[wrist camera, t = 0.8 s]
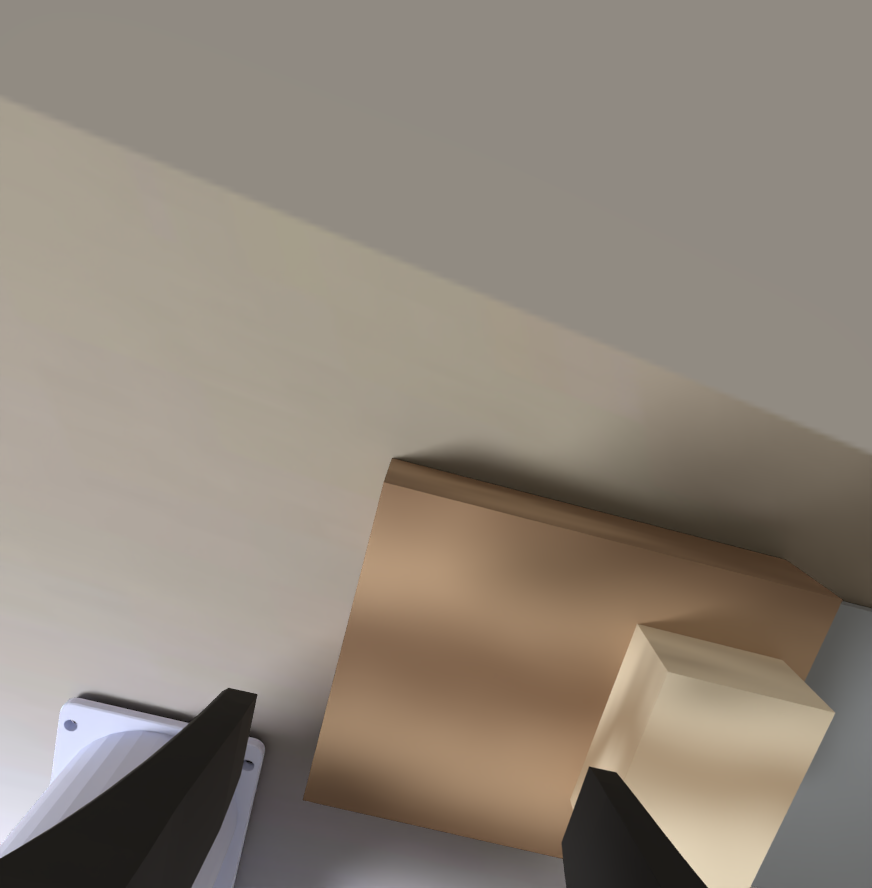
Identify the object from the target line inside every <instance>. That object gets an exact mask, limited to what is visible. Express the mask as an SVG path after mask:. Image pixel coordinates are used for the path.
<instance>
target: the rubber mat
mask: <svg viewBox="0 0 872 888" xmlns="http://www.w3.org/2000/svg"><path fill="white" fill-rule="evenodd" d="M805 683H806V684H807V685H808V686H809V687H810V688H811V689H812V690H813V691H814V692H815V693H816V694H817V695H818V696H819V697H820V698H821V699H822V700H823V701H824V702H825V703H826V704H827V705H828V706H829V707H830V708H831V709H832V710H833V711H834V712H835V715H834V717H833V719H832V721H831V723H830V725H829V727H828V729H827V731H826V733H825V735H824V737H823V739H822V741H821V743H820V745H819V747H818V750H817V752H816V754H815V756H814V758H813V760H812V762H811V764H810V766H809V768H808V770H807V772H806V774H805V776H804V778H803V780H802V782H801V784H800V786H799V788H798V790H797V792H796V795H795V797H794V799H793V801H792V803H791V805H790V807H789V809H788V811H787V813H786V815H785V817H784V819H783V821H782V823H781V825H780V827H779V829H778V831H777V833H776V835H775V837H774V840H773V842H772V844H771V846H770V848H769V850H768V852H767V854H766V856H765V858H764V860H763V862H762V864H761V866H760V868H759V870H758V872H757V874H756V876H755V878H754V880H753V882H752V885H751V886H752V887H757V888H872V608H868V607H864V606H860V605H856V604H852V603H848V602H845V601H842V602H841V605H840V607H839V609H838V611H837V613H836V615H835V617H834V620H833V622H832V624H831V626H830V628H829V630H828V632H827V635H826V637H825V639H824V641H823V643H822V645H821V647H820V649H819V652H818V654H817V656H816V658H815V660H814V662H813V664H812V667H811V669H810V671H809V673H808V675H807V677H806V679H805Z"/></svg>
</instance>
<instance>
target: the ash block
mask: <svg viewBox="0 0 872 888" xmlns="http://www.w3.org/2000/svg"><path fill="white" fill-rule="evenodd" d="M834 715H835V712H834V711H833V710H832V709H831V708H830V707H829V706H828V705H827V704H826V703H825V702H824V701H823V700H822V699H821V698H820V697H819V696H818V695H817V694H816V693H815V692H814V691H813V690H812V689H811V688H810V687H809V686H808V685H807V684H806V683H805V682H804V681H803V680H802V679H801V678H800V677H799V676H798V675H797V674H796V673H795V672H794V671H793V670H792V669H791V668H790V667H789V666H788V665H787V664H786V663H785V662H784V661H783V660H780V659H776V658H772V657H768V656H764V655H760V654H756V653H752V652H748V651H744V650H740V649H736V648H732V647H728V646H724V645H720V644H716V643H712V642H708V641H704V640H700V639H696V638H692V637H688V636H684V635H680V634H676V633H672V632H668V631H664V630H660V629H656V628H652V627H648V626H644V625H640V624H637V626H636V628H635V631H634V633H633V636H632V639H631V641H630V644H629V647H628V649H627V652H626V654H625V657H624V660H623V662H622V665H621V667H620V670H619V673H618V675H617V678H616V681H615V683H614V686H613V688H612V691H611V694H610V696H609V699H608V701H607V704H606V707H605V709H604V712H603V714H602V717H601V720H600V722H599V725H598V728H597V730H596V733H595V735H594V738H593V741H592V743H591V746H590V748H589V751H588V754H587V756H586V759H585V762H584V764H583V767H582V769H581V772H580V775H579V777H578V780H577V782H576V785H575V788H574V790H573V793H572V796H571V798H570V801H571V805H572V808H573V809H574V807H575V804H576V801H577V798H578V795H579V793H580V790H581V787H582V784H583V782H584V779H585V776H586V773H587V771H588V768H589V766H590V767H594V768H599V769H603V770H608V771H613V772H616V773H617V774H618V775H619V776H620V777H621V778H622V780H623V781H624V782H625V783H626V785H627V786H628V787H629V788H630V790H631V791H632V792H633V793H634V795H635V796H636V797H637V799H638V800H639V801H640V802H641V804H642V805H643V806H644V808H645V809H646V810H647V812H648V813H649V814H650V815H651V817H652V818H653V819H654V821H655V822H656V823H657V824H658V826H659V827H660V828H661V830H662V831H663V832H664V834H665V835H666V836H667V837H668V839H669V840H670V841H671V842H672V844H673V845H674V846H675V848H676V849H677V850H678V851H679V853H680V854H681V855H682V856H683V858H684V859H685V860H686V861H687V863H688V864H689V865H690V866H691V868H692V869H693V870H694V871H695V872H696V874H697V875H698V876H699V877H700V878H701V880H702V881H703V882H704V883H705V884H706V886H707V887H708V888H750V887H751V885H752V882H753V880H754V878H755V876H756V874H757V872H758V870H759V868H760V866H761V864H762V862H763V860H764V858H765V856H766V854H767V852H768V850H769V848H770V846H771V844H772V842H773V840H774V837H775V835H776V833H777V831H778V829H779V827H780V825H781V823H782V821H783V819H784V817H785V815H786V813H787V811H788V809H789V807H790V805H791V803H792V801H793V799H794V797H795V795H796V792H797V790H798V788H799V786H800V784H801V782H802V780H803V778H804V776H805V774H806V772H807V770H808V768H809V766H810V764H811V762H812V760H813V758H814V756H815V754H816V752H817V750H818V747H819V745H820V743H821V741H822V739H823V737H824V735H825V733H826V731H827V729H828V727H829V725H830V723H831V721H832V719H833V717H834Z"/></svg>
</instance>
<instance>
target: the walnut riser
mask: <svg viewBox="0 0 872 888" xmlns="http://www.w3.org/2000/svg"><path fill="white" fill-rule="evenodd" d="M842 600H843V599H841V598H840V597H838V596H837V595H835V594H834V593H833V592H831V591H830V590H828V589H827V588H825V587H824V586H823V585H821V584H820V583H818V582H817V581H815V580H814V579H813V578H811V577H810V576H808V575H807V574H805V573H804V572H803V571H801V570H800V569H798V568H797V567H795V566H794V565H793V564H791V563H790V562H788V561H787V560H785V559H781V558H777V557H773V556H769V555H765V554H762V553H758V552H754V551H750V550H746V549H742V548H738V547H734V546H731V545H727V544H723V543H719V542H715V541H711V540H707V539H704V538H700V537H696V536H692V535H688V534H684V533H680V532H676V531H673V530H669V529H665V528H661V527H657V526H653V525H649V524H645V523H642V522H638V521H634V520H630V519H626V518H622V517H618V516H615V515H611V514H607V513H603V512H599V511H595V510H591V509H587V508H584V507H580V506H576V505H572V504H568V503H564V502H560V501H557V500H553V499H549V498H545V497H541V496H537V495H533V494H529V493H526V492H522V491H518V490H514V489H510V488H506V487H502V486H498V485H495V484H491V483H487V482H483V481H479V480H475V479H471V478H468V477H464V476H460V475H456V474H452V473H448V472H444V471H440V470H437V469H433V468H429V467H425V466H421V465H417V464H413V463H409V462H406V461H402V460H398V459H394V458H392V460H391V463H390V466H389V469H388V471H387V474H386V477H385V480H384V484H383V487H382V491H381V495H380V499H379V503H378V507H377V511H376V515H375V519H374V523H373V527H372V531H371V534H370V538H369V542H368V546H367V550H366V554H365V558H364V562H363V566H362V570H361V574H360V578H359V581H358V585H357V589H356V593H355V597H354V601H353V605H352V609H351V613H350V617H349V621H348V625H347V628H346V632H345V636H344V640H343V644H342V648H341V652H340V656H339V660H338V664H337V668H336V672H335V675H334V679H333V683H332V687H331V691H330V695H329V699H328V703H327V707H326V711H325V715H324V719H323V722H322V726H321V730H320V734H319V738H318V742H317V746H316V750H315V754H314V758H313V762H312V766H311V769H310V773H309V777H308V781H307V785H306V789H305V793H304V797H303V800H304V801H309V802H313V803H317V804H322V805H326V806H331V807H335V808H340V809H344V810H349V811H353V812H357V813H362V814H366V815H371V816H375V817H380V818H384V819H389V820H393V821H397V822H402V823H406V824H411V825H415V826H420V827H424V828H429V829H433V830H437V831H442V832H446V833H451V834H455V835H460V836H464V837H469V838H473V839H477V840H482V841H486V842H491V843H495V844H500V845H504V846H509V847H513V848H517V849H522V850H526V851H531V852H535V853H540V854H544V855H549V856H553V857H557V858H562V859H563V854H562V845H561V842H562V840H563V837H564V834H565V831H566V829H567V826H568V823H569V820H570V818H571V815H572V812H573V808H572V805H571V801H570V798H571V796H572V793H573V790H574V788H575V785H576V782H577V780H578V777H579V775H580V772H581V769H582V767H583V764H584V762H585V759H586V756H587V754H588V751H589V748H590V746H591V743H592V741H593V738H594V735H595V733H596V730H597V728H598V725H599V722H600V720H601V717H602V714H603V712H604V709H605V707H606V704H607V701H608V699H609V696H610V694H611V691H612V688H613V686H614V683H615V681H616V678H617V675H618V673H619V670H620V667H621V665H622V662H623V660H624V657H625V654H626V652H627V649H628V647H629V644H630V641H631V639H632V636H633V633H634V631H635V628H636V626H637V624H640V625H644V626H648V627H652V628H656V629H660V630H664V631H668V632H672V633H676V634H680V635H684V636H688V637H692V638H696V639H700V640H704V641H708V642H712V643H716V644H720V645H724V646H728V647H732V648H736V649H740V650H744V651H748V652H752V653H756V654H760V655H764V656H768V657H772V658H776V659H780V660H783V661H784V662H785V663H786V664H787V665H788V666H789V667H790V668H791V669H792V670H793V671H794V672H795V673H796V674H797V675H798V676H799V677H800V678H801V679H802V680H803V681H804V682H805V679H806V677H807V675H808V673H809V671H810V669H811V667H812V664H813V662H814V660H815V658H816V656H817V654H818V652H819V649H820V647H821V645H822V643H823V641H824V639H825V637H826V635H827V632H828V630H829V628H830V626H831V624H832V622H833V620H834V617H835V615H836V613H837V611H838V609H839V607H840V605H841V602H842Z"/></svg>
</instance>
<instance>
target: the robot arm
mask: <svg viewBox="0 0 872 888" xmlns="http://www.w3.org/2000/svg"><path fill="white" fill-rule="evenodd" d="M256 699H257V694H254V693H250V692H245V691H240V690H236V689H231V688H228V689H226V690H224V691H222V692H221V693H220V694H219V695H218V696H217V697H216V698H215V699H214V700H213V701H212V702H211V703H210V704H209V705H208V706H207V707H206V708H205V709H204V710H203V711H202V712H201V713H200V714H199V715H198V716H196V717H195V718H194V719H193V720H192V721H191V722H190V723H186V722H182V721H178V720H173V719H169V718H165V717H160V716H156V715H152V714H147V713H143V712H139V711H134V710H130V709H126V708H121V707H117V706H112V705H108V704H104V703H99V702H95V701H91V700H86V699H82V698H72V699H69V700H68V701H67V702H66V703H65V704H64V705H63V706H62V707H61V710H60V716H59V723H58V730H57V738H56V745H55V753H54V760H53V768H52V775H51V783H50V786H49V787H48V788H47V789H46V790H45V792H44V793H43V794H42V795H41V796H40V798H39V799H38V800H37V801H36V802H35V804H34V805H33V806H32V807H31V808H30V810H29V811H28V812H27V813H26V814H25V816H24V817H23V818H22V819H21V820H20V822H19V823H18V824H17V825H16V826H15V828H14V829H13V830H12V831H11V832H10V834H9V835H8V836H7V837H6V838H5V840H4V841H3V842H2V843H1V844H0V888H234V883H235V879H236V875H237V870H238V866H239V862H240V857H241V853H242V849H243V844H244V840H245V836H246V831H247V827H248V823H249V819H250V814H251V810H252V806H253V801H254V797H255V793H256V788H257V784H258V780H259V775H260V771H261V767H262V763H263V758H264V754H265V746H264V744H263V743H262V742H261V741H260V740H258V739H256V738H252V737H249V733H250V728H251V723H252V718H253V713H254V708H255V703H256ZM71 720H73V721H75V722H76V723H77V724H75V723H73V722H72V721H71ZM245 760H250V761H252V762H253V763H248V762H246V761H245ZM561 845H562V854H563V863H564V872H565V880H566V887H567V888H708V887H707V886H706V884H705V883H704V882H703V881H702V880H701V878H700V877H699V876H698V875H697V874H696V872H695V871H694V870H693V869H692V868H691V866H690V865H689V864H688V863H687V861H686V860H685V859H684V858H683V856H682V855H681V854H680V853H679V851H678V850H677V849H676V848H675V846H674V845H673V844H672V842H671V841H670V840H669V839H668V837H667V836H666V835H665V834H664V832H663V831H662V830H661V828H660V827H659V826H658V824H657V823H656V822H655V821H654V819H653V818H652V817H651V815H650V814H649V813H648V812H647V810H646V809H645V808H644V806H643V805H642V804H641V802H640V801H639V800H638V799H637V797H636V796H635V795H634V793H633V792H632V791H631V790H630V788H629V787H628V786H627V785H626V783H625V782H624V781H623V780H622V778H621V777H620V776H619V775H618V774H617V773H616V772H613V771H608V770H603V769H599V768H594V767H590V766H589V768H588V771H587V773H586V776H585V779H584V782H583V784H582V787H581V790H580V793H579V795H578V798H577V801H576V804H575V807H574V809H573V812H572V815H571V818H570V820H569V823H568V826H567V829H566V831H565V834H564V837H563V840H562V842H561Z"/></svg>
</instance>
